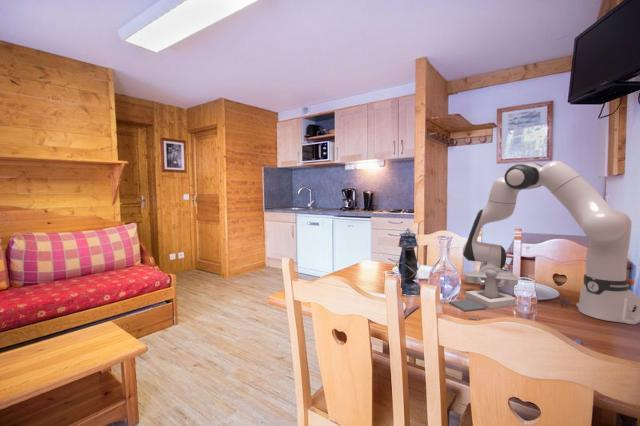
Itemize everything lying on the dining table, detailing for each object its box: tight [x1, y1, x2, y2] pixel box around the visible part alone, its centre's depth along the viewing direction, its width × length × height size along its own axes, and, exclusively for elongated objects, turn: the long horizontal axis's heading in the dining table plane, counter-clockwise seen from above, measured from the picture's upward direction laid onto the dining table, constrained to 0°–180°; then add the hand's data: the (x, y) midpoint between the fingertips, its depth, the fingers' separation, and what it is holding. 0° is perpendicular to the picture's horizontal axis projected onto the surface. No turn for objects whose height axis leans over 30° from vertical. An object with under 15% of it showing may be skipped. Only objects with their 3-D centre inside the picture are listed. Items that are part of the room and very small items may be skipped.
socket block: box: [464, 288, 516, 309], centre depth 132 cm, size 14×14×2 cm
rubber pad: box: [448, 298, 487, 313], centre depth 127 cm, size 10×10×1 cm
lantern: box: [395, 228, 421, 296], centre depth 145 cm, size 15×12×30 cm
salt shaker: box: [483, 270, 499, 299], centre depth 131 cm, size 6×6×13 cm
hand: (491, 284), depth 131 cm, fingers open, 5 cm apart
